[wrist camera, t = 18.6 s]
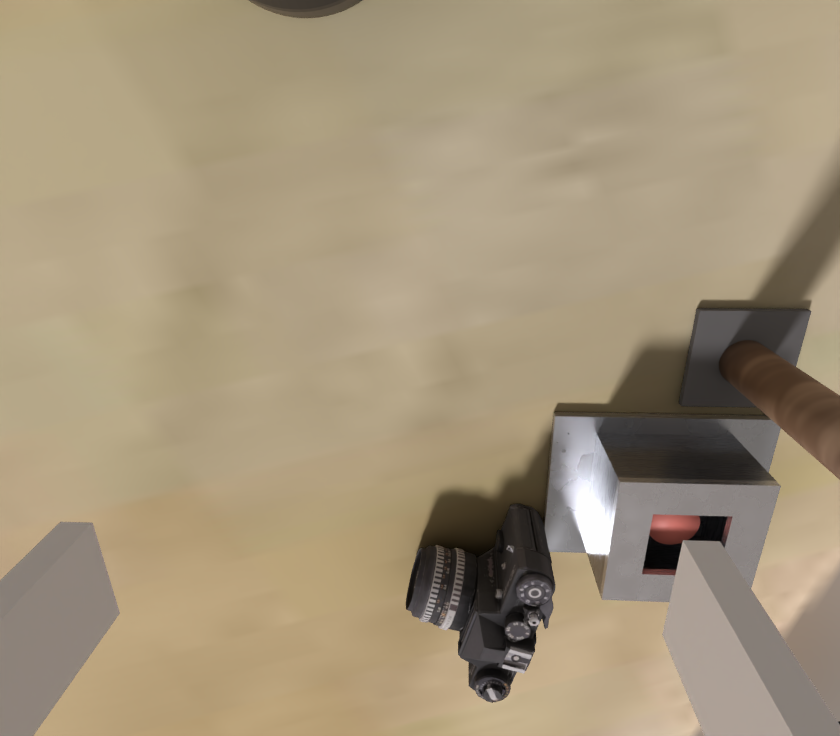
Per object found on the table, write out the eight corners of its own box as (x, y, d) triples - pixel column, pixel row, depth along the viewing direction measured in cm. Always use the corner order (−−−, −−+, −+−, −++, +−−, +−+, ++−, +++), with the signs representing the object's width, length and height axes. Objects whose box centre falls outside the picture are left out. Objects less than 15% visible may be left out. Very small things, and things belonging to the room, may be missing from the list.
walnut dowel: (723, 339, 42) (869, 446, 27) (772, 340, 42) (946, 448, 27) (715, 383, 43) (848, 507, 28) (762, 383, 43) (922, 509, 28)
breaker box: (553, 411, 46) (571, 463, 38) (777, 415, 45) (839, 468, 37) (541, 545, 51) (555, 612, 44) (740, 551, 50) (788, 621, 43)
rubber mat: (696, 308, 42) (699, 310, 41) (806, 308, 41) (811, 311, 41) (678, 402, 45) (681, 406, 44) (780, 404, 44) (784, 407, 44)
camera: (435, 482, 49) (430, 560, 40) (552, 509, 50) (574, 593, 40) (401, 597, 55) (390, 690, 46) (506, 621, 55) (516, 717, 46)
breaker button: (635, 473, 46) (651, 502, 42) (684, 474, 46) (704, 504, 42) (629, 512, 48) (643, 543, 44) (676, 513, 47) (695, 545, 44)
